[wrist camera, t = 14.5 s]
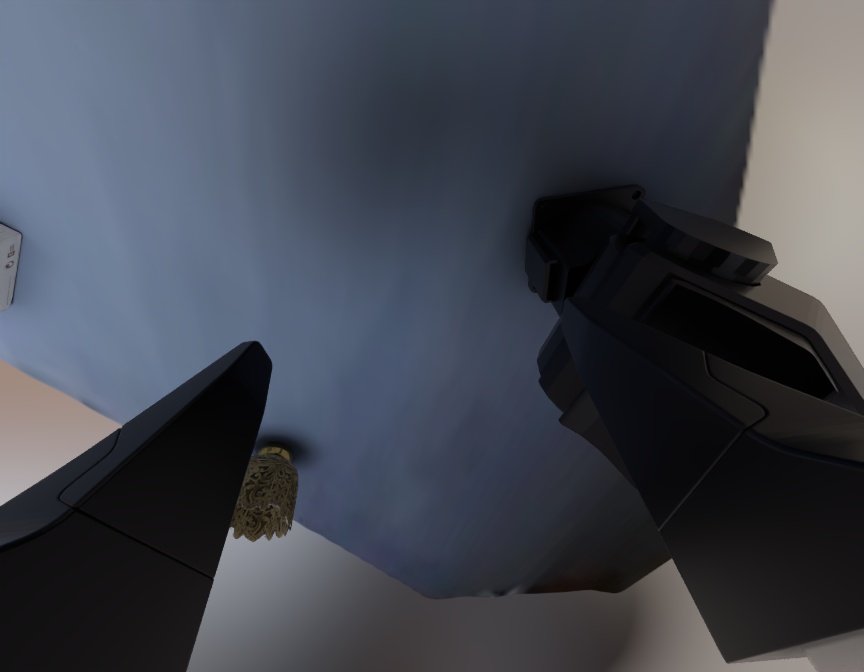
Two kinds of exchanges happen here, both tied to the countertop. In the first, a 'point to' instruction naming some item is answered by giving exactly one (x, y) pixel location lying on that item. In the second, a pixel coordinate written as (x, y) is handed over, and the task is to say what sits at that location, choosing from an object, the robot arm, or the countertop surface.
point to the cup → (267, 494)
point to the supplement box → (8, 264)
